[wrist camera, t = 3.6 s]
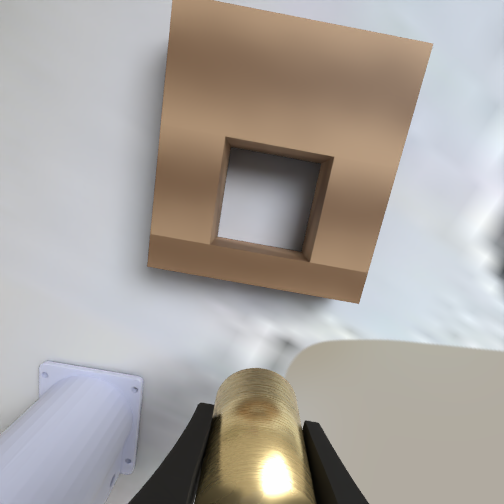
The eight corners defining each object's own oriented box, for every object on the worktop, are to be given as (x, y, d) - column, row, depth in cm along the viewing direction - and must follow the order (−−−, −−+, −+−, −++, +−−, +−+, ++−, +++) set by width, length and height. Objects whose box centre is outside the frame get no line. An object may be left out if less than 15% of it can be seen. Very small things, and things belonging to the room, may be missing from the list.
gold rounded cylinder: (287, 442, 13) (304, 587, 8) (210, 429, 13) (182, 568, 8) (304, 375, 12) (335, 493, 7) (222, 361, 12) (199, 469, 7)
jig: (342, 286, 19) (358, 303, 16) (164, 255, 18) (147, 266, 15) (400, 72, 16) (433, 43, 13) (189, 31, 15) (173, -8, 12)
